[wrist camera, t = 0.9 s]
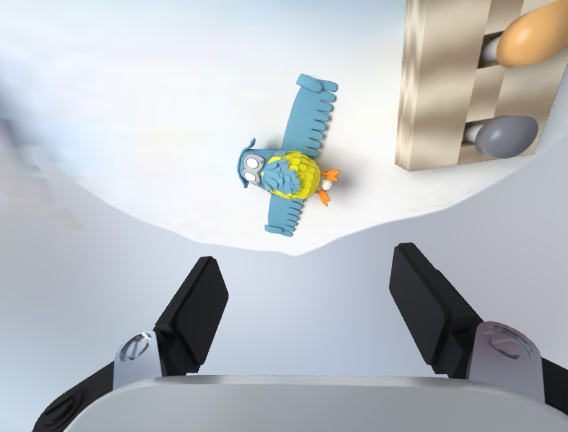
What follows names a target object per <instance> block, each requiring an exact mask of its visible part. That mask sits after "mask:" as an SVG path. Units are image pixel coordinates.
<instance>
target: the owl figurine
mask: <svg viewBox="0 0 568 432" xmlns="http://www.w3.org/2000/svg"><path fill="white" fill-rule="evenodd" d="M296 84H298V85H300V86H302V87H301V88H300V90H299V92H298V94H297V96H296V98H295V100H294V103H293V106H292V110H291V113H290V116H289V120H288V123H287V127H286V131H285V135H284V139H283V144H282V148H281V150H264V149H250V148H251V147H253V146H254V144H255V141H256V140H255V138H253V140H252V141H251V143H250V145H249V146H248V147H246V148H244V149H243V151H242V153H241V155H240V157H239V161H238V166H237V170H238V174H239V178H240V179H241V181H242V183H243V184H244V188H247V186H248V184H249V182H250V183H252V184H254V185H257V186H259V187H261V188H263V189H266V190H267V191H268V192H271V193H272V194H271V199H270V205H269V213H268V223H269V226H268V225H265V231H268V232H271V233H279V234H282V235H285V236H289V237H291V236H292V235H293V234H292V233H291V232H293V231H295V228H293V227H291V226H296V223H295V222H293V221H297V220H298V217H296V216H294V215H299V214H300V212H299V211H298V210H296V209H301V208H302V206H301V204H299V203H302V202H303V201H304V199H306V197H310V196H311V195H312V194H313V193H319V195H320V199H321V201H322V202H323V204H324V205H325V206H328V204H327V202H326V200H327V201H330V198H329V197H328V195H327V193H326V191H327V190H329V189H331V187H332V182H331V181H338V178H337V177H336V176H335V175H337V174H339V173H340V171H339V170H329V171H327V173H325V172H322V171H320V169H319V167H318V165H317V164H316V161H315V159H313V158H311V157H308V156H312V157H316V156H317V155H318V152H317V151H316V150H314V149H311V148H309V147H312V148H317V149H318V148H320V146H321V144H320V142H318V141H315V140H312V139H309V138H313V139H318V140H321V139H322V138H323V134H322V133H321V132H318V131H315V130H312V129H316V130H320V131H324V130H325V129H326V125H325V124H324V123H321V122H318V121H315V120H320V121H328V120H329V115H328V114H326V113H323V112H320V111H325V112H330V111H331V110H332V105H330V104H328V103H325V102H322V101H327V102H333V101H334V100H335V95H334V94H332V93H329V92H326V91H324V90H327V91H332V92H335V91H336V90H337V88H338V86H337V84H336V83H334V82H331V81H325V80H315V79H313V78H311V77H309V76H306V75H304V74H301V75H300V76H299V78H298V80H297V82H296ZM318 110H320V111H318ZM307 155H308V156H307ZM321 175H325V176H326V179H324V180H323V181H322V182H321V187H322V190H321V191H317V190H316V189H317V188H318V186H319V183H320V179H321ZM293 201H295V202H293ZM296 202H299V203H296ZM290 207H291V208H290ZM293 208H295V209H293ZM291 214H293V215H291ZM291 220H292V221H291ZM285 230H286V231H285ZM289 231H291V232H289Z"/></svg>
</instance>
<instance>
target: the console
mask: <svg viewBox="0 0 568 432" xmlns="http://www.w3.org/2000/svg"><path fill="white" fill-rule="evenodd" d="M554 1H558V0H407V8H406V21H405V35H404V48H403V62H402V75H401V89H400V102H399V116H398V129H397V143H396V156H395V164H396V165H398V166H400V167H402V168H404V169H405V170H407V171H417V170H424V169H431V168H438V167H445V166H452V165H459V164H467V163H474V162H481V161H488V160H495V159H502V158H498V157H493V156H489V155H485V154H482V153H480V152H478V151H477V150H476V148H475V142H469V141H467V140H466V139H465V133H466V131H467V129H468V128H469V127H471V126H472V125H475V124H483V125H484V124H485V123H486V122H488V121H489V120H491V119H493V118H495V117H498V116H503V115H509V116H530V117H532V118H534V119H535V120H536V121H537V123H538V133H537V136H536V138H535V140H534V141H533V143H532V144H531V145H530V146H529V147H528V148H527V149H526V150H525V151H524V152H522V153H521V154H519V155H517V156H524V155H531V154H534V153H535V150H536V147H537V144H538V142H539V139H540V136H541V134H542V131H543V128H544V126H545V123H546V120H547V117H548V115H549V112H550V109H551V107H552V104H553V101H554V99H555V96H556V93H557V91H558V88H559V85H560V82H561V80H562V77H563V74H564V72H565V69H566V66H567V64H568V43H567V44H566V45H565V46H564V47H563V48H562V49H561V50H560V51H559V52H558V53H557V54H556V55H554V56H553V57H551V58H550V59H548V60H546V61H543V62H540V63H536V64H531V65H526V66H521V67H516V68H505V67H503V66H501V65H500V64H499V62H498V60H496V61H492V62H486V61H484V60H483V58H482V52H483V49H484V47H485V46H486V44H487V43H488V42H489V41H491V40H493V39H495V38H498V37H500V36H501V35H502V34H503V32H504V31H505V29H506V28H507V27H508V26H509V25H510V24H511V23H512V22H513V21H514V20H515V19H517V18H518V17H520V16H522V15H524V14H526V13H529V12H531V11H533V10H536V9H538V8H540V7H543V6H545V5H547V4H550V3H552V2H554ZM517 156H514V157H517Z"/></svg>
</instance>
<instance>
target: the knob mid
mask: <svg viewBox="0 0 568 432" xmlns="http://www.w3.org/2000/svg"><path fill="white" fill-rule="evenodd" d="M567 43H568V0H558V1H554V2H552V3H550V4H547V5H545V6H543V7H540V8H538V9H536V10H533V11H531V12H529V13H526V14H524V15H522V16H520V17H518V18H517V19H515V20H514V21H513V22H512V23H511V24H510V25H509V26H508V27H507V28H506V29H505V31H504V32H503V34H502V35H501V36H500V37H498V38H495V39H493V40H491V41H489V42H488V43H487V44H486V46H485V47H484V49H483V52H482V58H483V60H484V61H486V62H492V61H496V60H498V62H499V64H500V65H501V66H503V67H505V68H516V67H521V66H526V65H531V64H536V63H540V62H543V61H546V60H548V59H550V58H551V57H553V56H554V55H556V54H557V53H558V52H559V51H560V50H561V49H562V48H563V47H564V46H565V45H566V44H567Z"/></svg>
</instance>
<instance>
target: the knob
mask: <svg viewBox="0 0 568 432" xmlns="http://www.w3.org/2000/svg"><path fill="white" fill-rule="evenodd" d="M537 133H538V123H537V121H536V120H535V119H534V118H532V117H530V116H509V115H503V116H498V117H495V118H493V119H491V120H489V121H488V122H486V123H485V124H484V125H483V124H475V125H472V126H471V127H469V128H468V129H467V131H466V133H465V139H466V140H467V141H469V142H475V148H476V150H477V151H478V152H480V153H482V154H485V155H489V156H493V157H498V158H504V159H505V158H511V157H514V156H517V155H519V154H521V153H522V152H524V151H525V150H526V149H527V148H528V147H529V146H530V145H531V144H532V143H533V141H534V140H535V138H536V136H537Z"/></svg>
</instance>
